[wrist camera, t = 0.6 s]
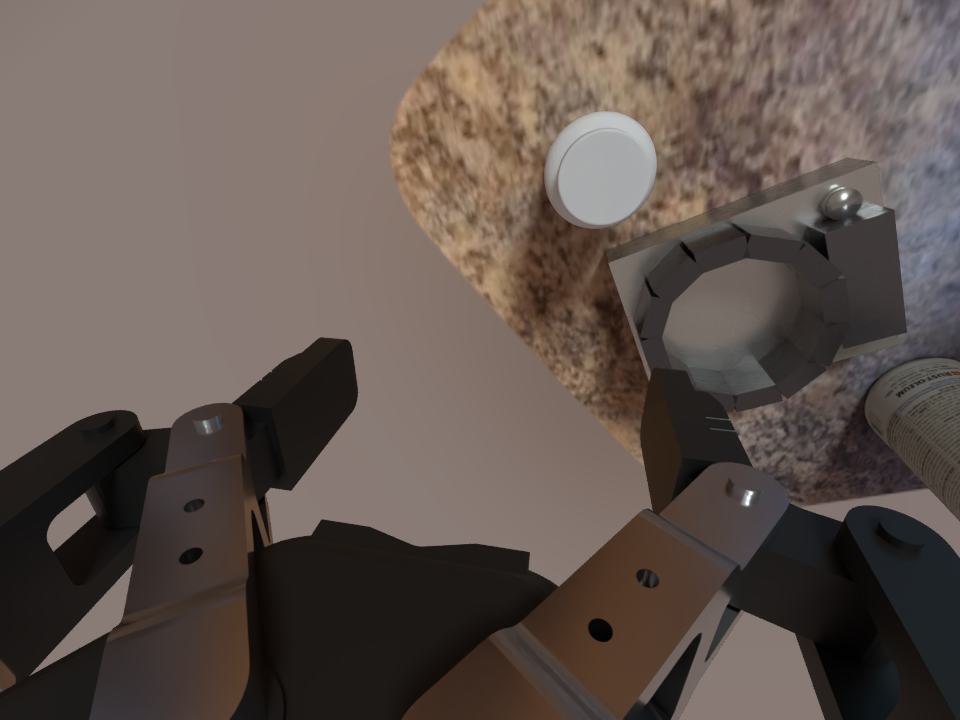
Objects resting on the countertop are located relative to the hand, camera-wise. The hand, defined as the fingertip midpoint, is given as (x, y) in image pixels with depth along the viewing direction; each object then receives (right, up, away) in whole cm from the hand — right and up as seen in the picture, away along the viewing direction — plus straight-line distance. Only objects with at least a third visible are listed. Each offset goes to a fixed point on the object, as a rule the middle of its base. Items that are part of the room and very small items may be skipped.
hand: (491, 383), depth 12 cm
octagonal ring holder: (+17, +5, +18) cm, 25 cm away
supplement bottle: (+7, +13, +17) cm, 22 cm away
